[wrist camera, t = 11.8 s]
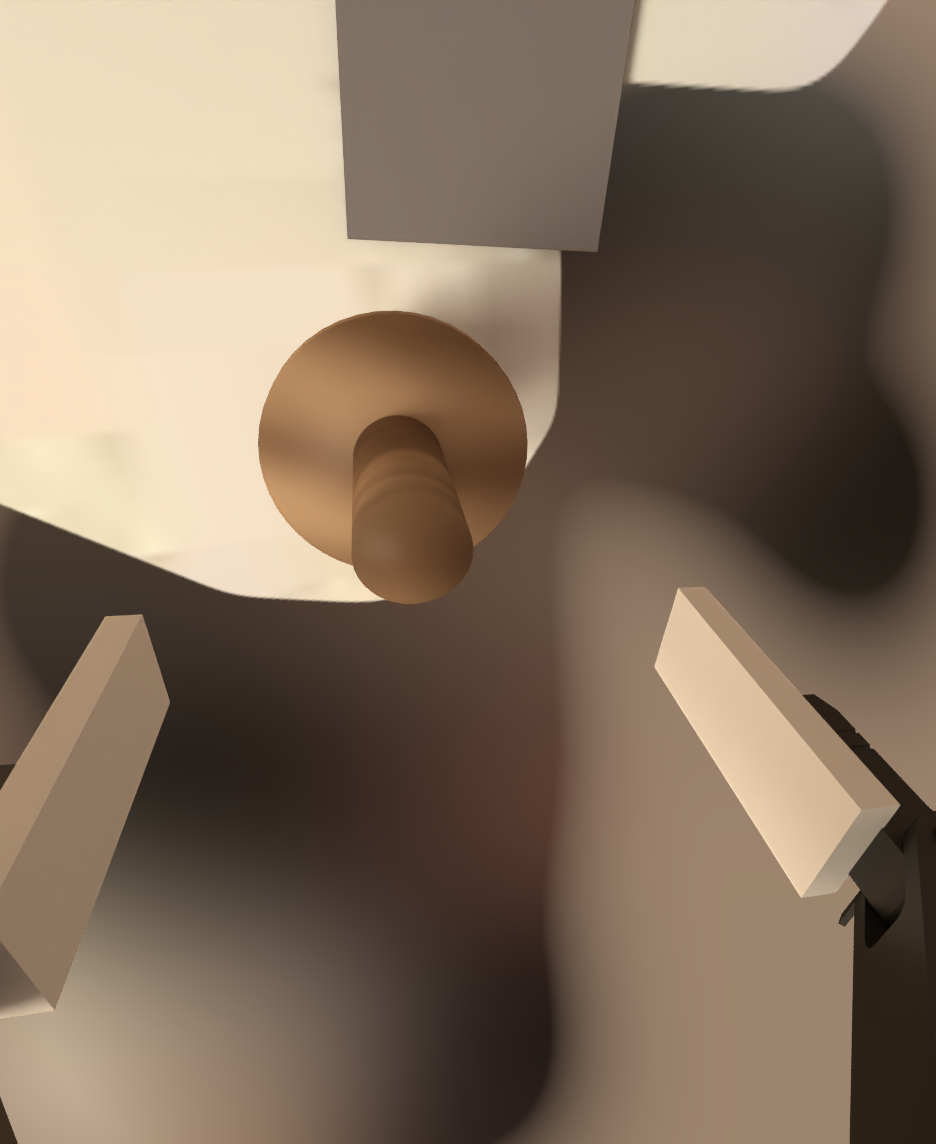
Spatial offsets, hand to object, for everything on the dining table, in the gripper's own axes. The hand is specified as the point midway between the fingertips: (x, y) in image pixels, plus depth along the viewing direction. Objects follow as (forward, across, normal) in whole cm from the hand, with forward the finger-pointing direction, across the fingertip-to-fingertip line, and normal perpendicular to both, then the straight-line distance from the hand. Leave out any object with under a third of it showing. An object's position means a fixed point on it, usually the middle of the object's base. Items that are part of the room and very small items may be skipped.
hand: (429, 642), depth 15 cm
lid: (+15, 0, 0) cm, 15 cm away
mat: (+28, +6, +15) cm, 32 cm away
